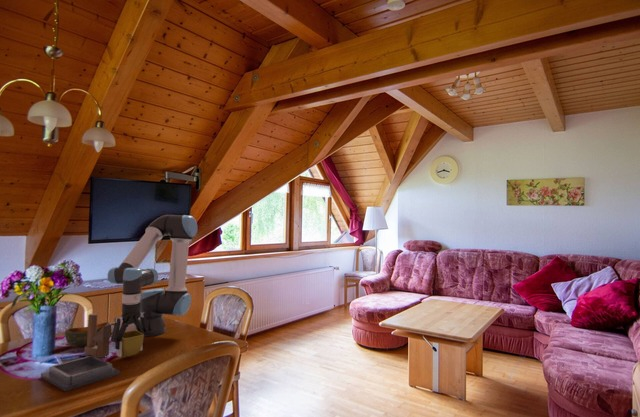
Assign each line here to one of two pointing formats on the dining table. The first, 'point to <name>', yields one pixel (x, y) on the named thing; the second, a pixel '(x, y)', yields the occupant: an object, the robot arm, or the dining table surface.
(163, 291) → the robot arm
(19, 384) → the dining table surface
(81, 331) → the cup
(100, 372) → the collar stand
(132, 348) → the flower pot
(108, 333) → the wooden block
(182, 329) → the dining table surface
